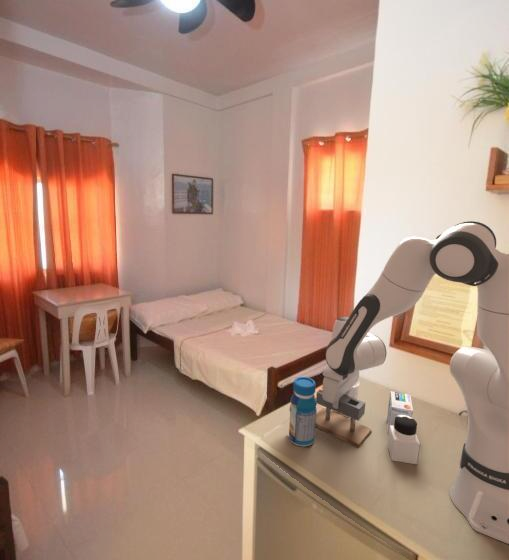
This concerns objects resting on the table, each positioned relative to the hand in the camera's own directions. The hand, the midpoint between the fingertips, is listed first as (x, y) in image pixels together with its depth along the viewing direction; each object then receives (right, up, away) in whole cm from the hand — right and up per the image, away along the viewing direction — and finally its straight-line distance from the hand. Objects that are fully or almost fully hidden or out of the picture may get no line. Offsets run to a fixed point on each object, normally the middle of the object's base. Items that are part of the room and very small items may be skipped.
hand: (340, 403), depth 110 cm
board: (0, -9, +2) cm, 9 cm away
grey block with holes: (0, -2, 0) cm, 2 cm away
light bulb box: (+20, -10, +3) cm, 22 cm away
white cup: (+6, -7, +15) cm, 18 cm away
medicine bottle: (+16, -12, -10) cm, 22 cm away
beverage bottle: (-13, -10, -4) cm, 17 cm away
